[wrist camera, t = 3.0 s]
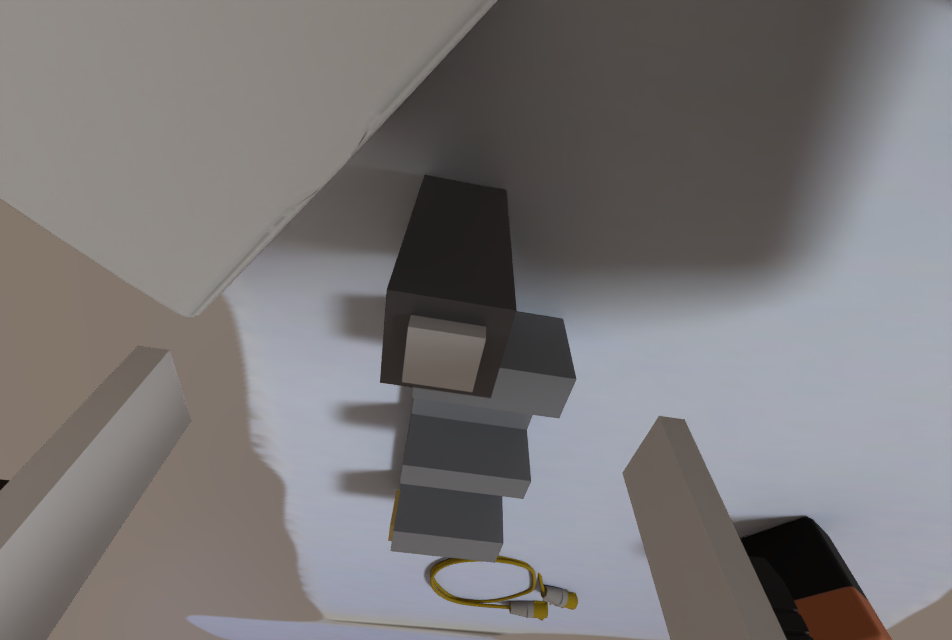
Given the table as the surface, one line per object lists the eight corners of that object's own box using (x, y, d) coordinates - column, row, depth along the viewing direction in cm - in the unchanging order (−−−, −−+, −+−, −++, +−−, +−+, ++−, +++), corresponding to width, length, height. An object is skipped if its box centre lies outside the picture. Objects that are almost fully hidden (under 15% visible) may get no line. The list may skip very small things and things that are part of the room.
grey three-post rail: (423, 296, 26) (411, 354, 22) (563, 319, 26) (576, 379, 22) (397, 490, 38) (386, 550, 34) (494, 501, 38) (494, 562, 34)
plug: (424, 175, 21) (382, 301, 13) (506, 190, 22) (517, 322, 13) (416, 248, 24) (376, 395, 15) (490, 260, 24) (491, 411, 16)
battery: (732, 539, 41) (790, 673, 33) (809, 513, 38) (893, 653, 30) (753, 556, 43) (812, 687, 35) (827, 533, 40) (911, 669, 32)
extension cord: (493, 616, 55) (493, 635, 53) (407, 566, 47) (404, 587, 45) (582, 593, 50) (586, 613, 48) (503, 533, 42) (504, 555, 41)
